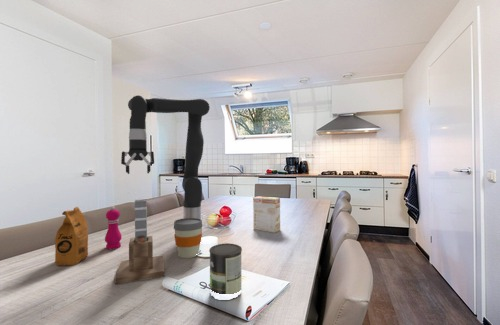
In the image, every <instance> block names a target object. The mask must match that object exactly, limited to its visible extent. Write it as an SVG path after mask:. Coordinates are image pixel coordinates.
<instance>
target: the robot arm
mask: <svg viewBox="0 0 500 325" xmlns="http://www.w3.org/2000/svg"><path fill="white" fill-rule="evenodd" d="M127 106H128V109H129V110H130V118H129V132H128V139H129V140H128V142H129V143H128V151H122V152H121V160H120V161H121V162H120V163H121V165H124V166H125V173H127V174H128V175H129V174H130V164H131V163H132V161H136V162H137V161H144V162H145V163H146V165H147V166H146V172H147V174H150V172H151V166H152V165H154V164H155V154H154V151H148V150H147V148H148V147H147V146H148V145H147V141H148V140H147V131H146V130H147V122H146V118H147V114H148V113H158V114H174V113H187V116H188V118H187V120H188V122H187V124H188V125H187V133H186V134H187V135H186V143H185V158H184V159H185V162H184V163H185V164H184V165H185V166H184V173H183V178H182V184H181V187H182V189H183V191H184V199H183V203H182V204H183V209H182V210H183V218H182V219H184V218H198V219H201V220H202V200H203V184H202V181H201V179H200V178H199V167H200V163H201V161H202V157H203V153H204V144H205V143H204V135H203V132H202V118H203V116H205V115H207V114H208V113H209V111H210V109H211V108H210V104H209V102H208V101H207V99H205V98H194V99H171V98H159V97H152V98H145V97H144V96H142V95H135V96H134V95H133V97H131V98H130V99H129V101H128V102H127ZM127 156H129V157H130V158H129V159H128V160H127V161H125V160H126V157H127ZM147 156H149V157H150V159H151V160H150V161H149V160H148V159H147V158H146V157H147ZM201 232H202V233H203V227H202V228H201ZM201 237H202V238H203V235H202V236H201Z"/></svg>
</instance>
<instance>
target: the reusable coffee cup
mask: <svg viewBox="0 0 500 325" xmlns="http://www.w3.org/2000/svg"><path fill="white" fill-rule="evenodd" d="M202 221H203V220H202V218H201V219H198V218H184V219H183V218H179V219H175V220H174V223H173V230H174V242H175V243H174V244H175V246H176V248H177V255H178V257H179V258H182V259H190V258H194V257H196V256H195V255H196V254H198V253H199V252H200V246H201V245H200V244H201V243H202V239H201V236H202V237H203V231H202V232H201V228H202V229H203V222H202ZM200 242H201V243H200ZM198 255H199V254H198Z"/></svg>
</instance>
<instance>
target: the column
mask: <svg viewBox="0 0 500 325" xmlns="http://www.w3.org/2000/svg"><path fill="white" fill-rule="evenodd" d="M147 203H148V202H147V199H145V198H144V199H135V200H134V238H135V242H137V238H142V237H144V241H147V236H148V221H147V220H148V219H147V218H148V217H147V216H148V215H147V213H148V212H147V211H148V209H147V208H148V206H147Z"/></svg>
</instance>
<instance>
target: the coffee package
mask: <svg viewBox="0 0 500 325" xmlns="http://www.w3.org/2000/svg"><path fill="white" fill-rule="evenodd" d="M61 214H62V216H65V217H64V219H63V222H62V224H61V225H60V226H59V228H58V230H57V231H56V233H55V237H54V238H55V239H54V245H55V246H54V248H55V250H54V251H55V255H54V256H55V257H54V258H55V259H54V260H55V261H54V263H55V264H56V266H58V267H60V266H74V265H78V264H79V263H80V262H81V261H84V260H86V258H87V256H88V255H89V230H88V229H89V228H88V223H87V219H86V217H85V215H84V214H83V212H82V211H81V210H80V208H79V206H75V207H74V208H73V209H72V210H65V211H63V212H62V213H61Z"/></svg>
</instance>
